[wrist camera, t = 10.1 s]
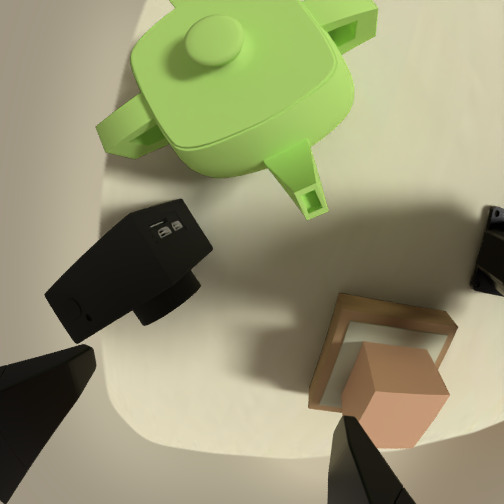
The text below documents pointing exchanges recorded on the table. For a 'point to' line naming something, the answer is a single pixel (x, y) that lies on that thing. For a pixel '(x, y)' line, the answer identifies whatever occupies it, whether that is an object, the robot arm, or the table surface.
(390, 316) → the stand
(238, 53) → the teapot
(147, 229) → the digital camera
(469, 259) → the table surface
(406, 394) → the cube
